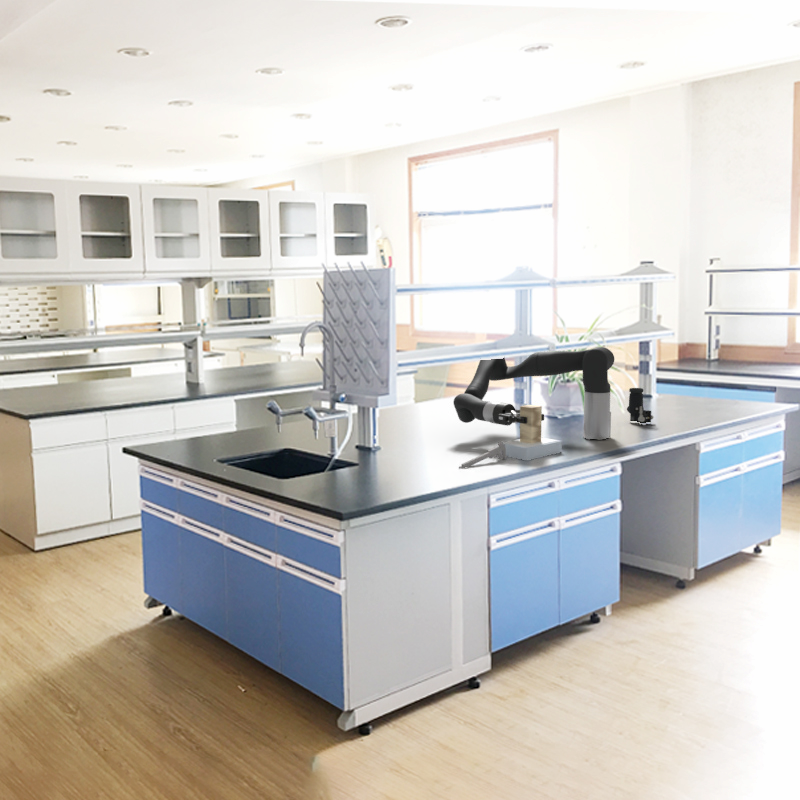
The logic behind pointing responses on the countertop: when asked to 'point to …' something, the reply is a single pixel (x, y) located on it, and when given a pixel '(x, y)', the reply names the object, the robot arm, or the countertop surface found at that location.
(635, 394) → the scope
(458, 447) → the countertop surface
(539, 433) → the maple block
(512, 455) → the white chamfered block
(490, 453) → the caliper
